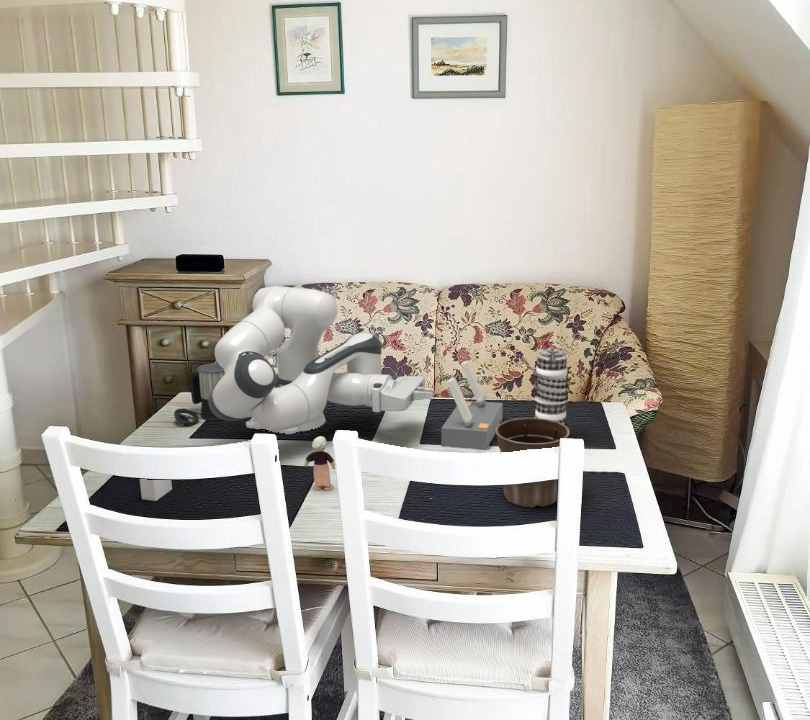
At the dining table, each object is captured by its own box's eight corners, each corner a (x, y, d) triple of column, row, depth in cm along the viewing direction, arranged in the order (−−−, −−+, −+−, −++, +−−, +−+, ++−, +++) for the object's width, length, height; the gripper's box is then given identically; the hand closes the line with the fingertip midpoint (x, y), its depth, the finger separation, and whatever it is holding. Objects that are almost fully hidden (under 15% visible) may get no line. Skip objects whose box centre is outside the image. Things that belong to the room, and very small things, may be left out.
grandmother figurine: (338, 484, 206) (336, 433, 203) (337, 491, 203) (334, 439, 199) (306, 484, 206) (303, 434, 203) (303, 491, 203) (301, 439, 199)
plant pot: (552, 518, 187) (554, 447, 182) (483, 504, 194) (483, 435, 190) (577, 490, 200) (579, 424, 196) (511, 478, 208) (512, 413, 204)
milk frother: (238, 411, 260) (235, 363, 256) (214, 429, 245) (210, 378, 241) (195, 408, 263) (191, 361, 259) (168, 426, 248) (164, 376, 245)
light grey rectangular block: (172, 489, 206) (168, 449, 203) (155, 501, 199) (151, 459, 197) (158, 487, 207) (154, 447, 204) (141, 499, 200) (137, 458, 198)
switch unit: (441, 446, 229) (441, 427, 228) (460, 416, 251) (460, 399, 250) (486, 449, 226) (486, 430, 224) (502, 419, 248) (502, 402, 247)
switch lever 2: (477, 406, 243) (459, 365, 242) (480, 402, 247) (462, 362, 245) (484, 404, 242) (466, 363, 241) (487, 400, 246) (469, 359, 245)
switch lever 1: (465, 426, 227) (445, 383, 226) (468, 421, 231) (449, 378, 229) (472, 424, 227) (452, 380, 225) (475, 419, 230) (455, 376, 229)
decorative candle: (532, 435, 236) (534, 345, 229) (567, 436, 234) (570, 345, 228) (531, 447, 227) (533, 354, 221) (567, 448, 226) (570, 355, 219)
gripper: (394, 391, 244) (442, 394, 240) (371, 414, 225) (423, 418, 221) (393, 369, 242) (442, 372, 238) (370, 390, 223) (423, 394, 219)
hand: (433, 394), depth 230 cm, fingers closed
